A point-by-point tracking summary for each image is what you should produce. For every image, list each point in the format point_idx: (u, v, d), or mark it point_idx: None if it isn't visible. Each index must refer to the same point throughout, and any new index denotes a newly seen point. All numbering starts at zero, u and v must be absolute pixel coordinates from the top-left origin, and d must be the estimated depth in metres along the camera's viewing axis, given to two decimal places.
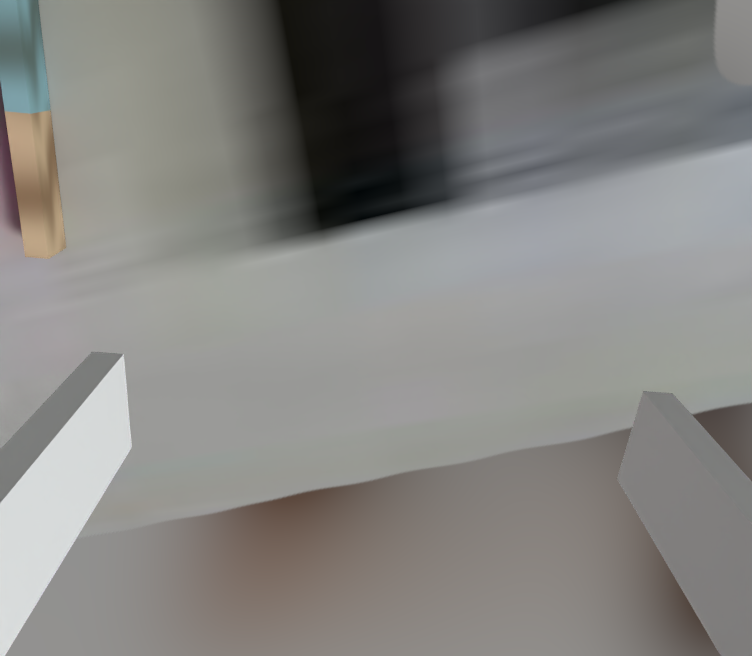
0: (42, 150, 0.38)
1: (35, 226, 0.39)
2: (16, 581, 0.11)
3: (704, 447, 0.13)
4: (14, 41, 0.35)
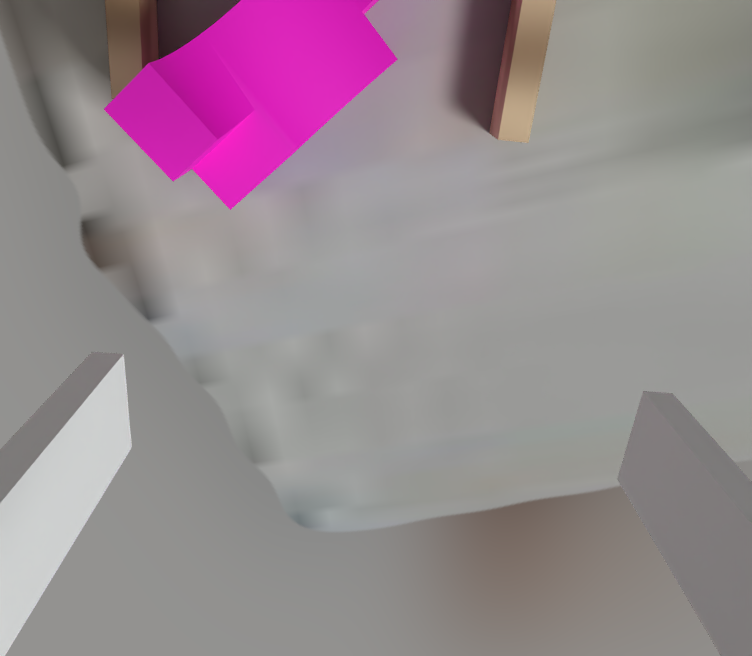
0: None
1: (525, 95, 0.29)
2: (16, 581, 0.11)
3: (704, 447, 0.13)
4: None
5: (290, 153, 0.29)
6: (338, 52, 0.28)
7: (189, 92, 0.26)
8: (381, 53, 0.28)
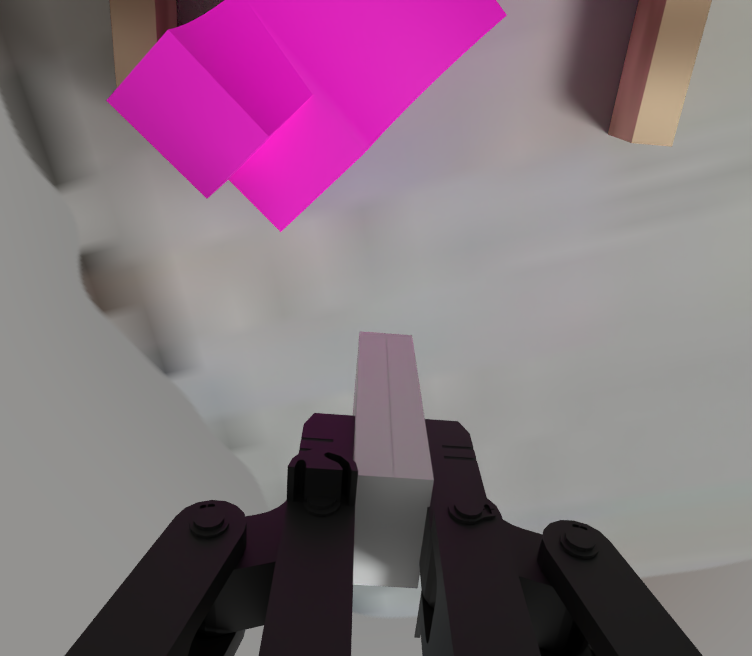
0: None
1: (672, 83, 0.22)
2: None
3: (402, 374, 0.15)
4: None
5: (361, 152, 0.21)
6: (422, 11, 0.21)
7: (225, 71, 0.18)
8: (483, 8, 0.20)
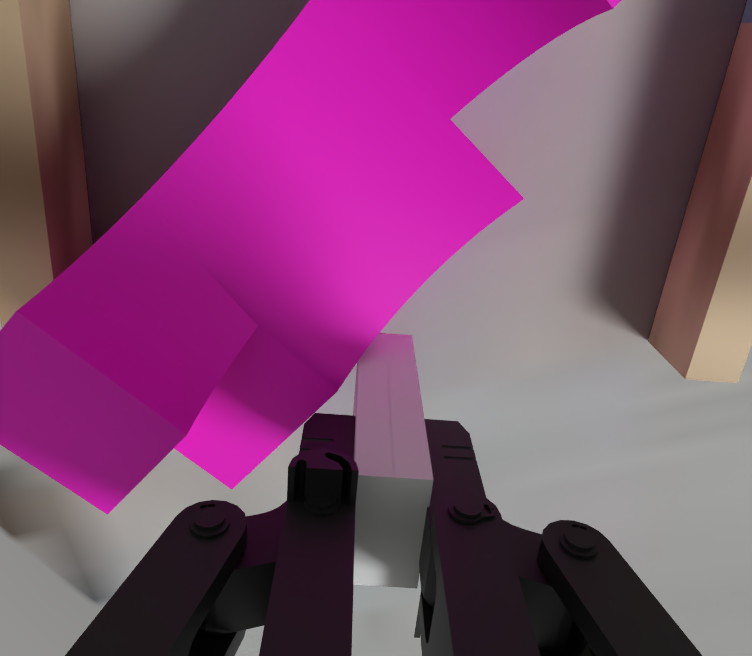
0: None
1: (741, 311, 0.16)
2: None
3: (402, 374, 0.15)
4: None
5: (332, 390, 0.15)
6: (405, 194, 0.15)
7: (119, 340, 0.12)
8: (489, 190, 0.14)
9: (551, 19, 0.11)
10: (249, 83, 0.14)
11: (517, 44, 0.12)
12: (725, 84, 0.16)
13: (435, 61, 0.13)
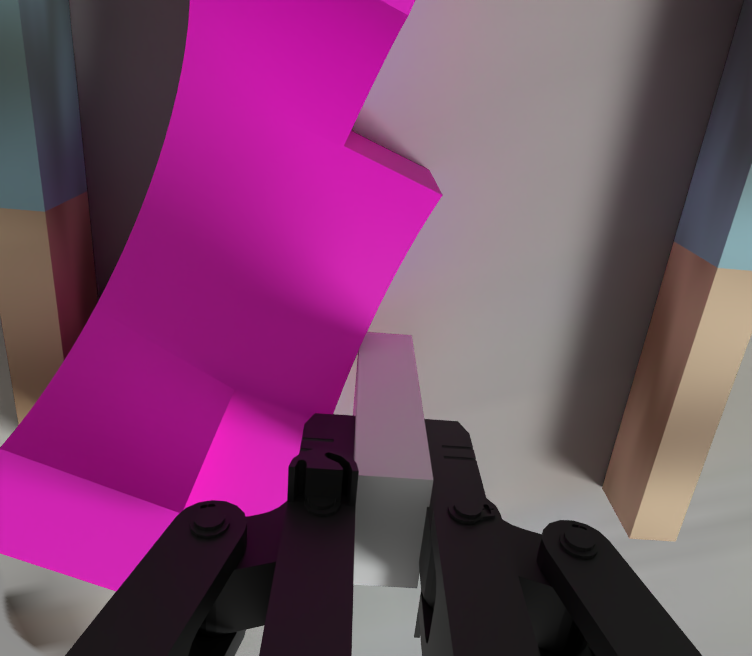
0: None
1: (676, 486, 0.19)
2: None
3: (402, 374, 0.15)
4: None
5: None
6: (333, 225, 0.15)
7: (102, 444, 0.13)
8: (408, 197, 0.14)
9: (376, 34, 0.11)
10: (157, 173, 0.15)
11: (364, 63, 0.12)
12: (663, 287, 0.19)
13: (307, 100, 0.13)
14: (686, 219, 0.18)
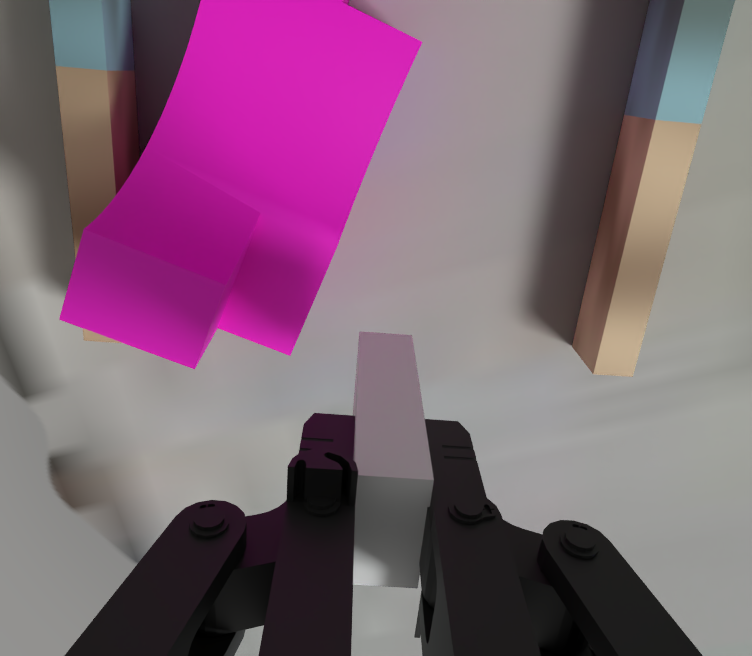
0: None
1: (631, 323, 0.22)
2: None
3: (402, 374, 0.15)
4: None
5: (334, 246, 0.19)
6: (336, 77, 0.19)
7: (160, 238, 0.17)
8: (395, 46, 0.18)
9: None
10: (193, 37, 0.18)
11: None
12: (616, 156, 0.22)
13: None
14: (632, 93, 0.21)
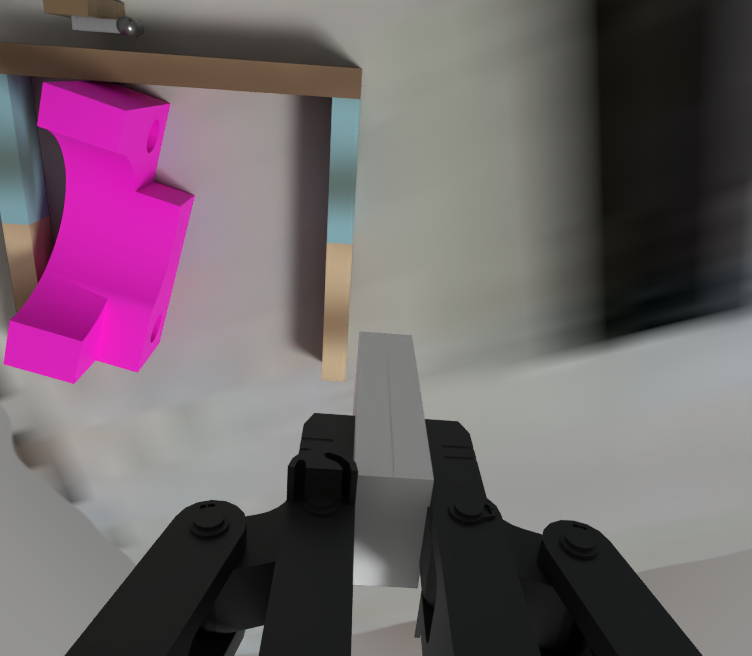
0: None
1: (337, 351, 0.39)
2: None
3: (402, 374, 0.15)
4: (349, 176, 0.35)
5: (150, 312, 0.36)
6: (142, 224, 0.35)
7: (50, 320, 0.33)
8: (167, 208, 0.35)
9: (120, 155, 0.31)
10: (65, 211, 0.35)
11: (125, 162, 0.32)
12: None
13: (114, 176, 0.33)
14: None
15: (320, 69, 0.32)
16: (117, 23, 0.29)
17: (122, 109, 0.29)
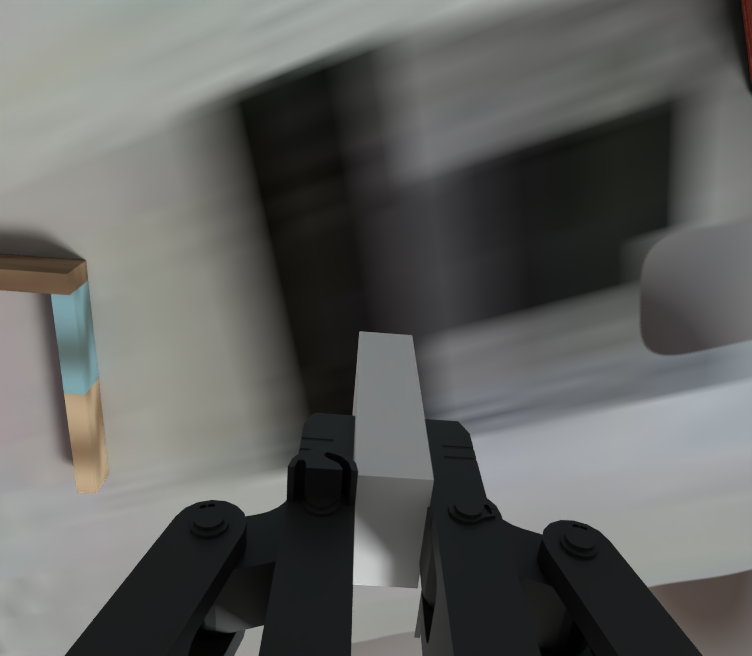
0: (92, 415, 0.47)
1: (86, 471, 0.48)
2: None
3: (402, 374, 0.15)
4: (73, 346, 0.44)
5: None
6: None
7: None
8: None
9: None
10: None
11: None
12: None
13: None
14: None
15: (34, 274, 0.41)
16: None
17: None
